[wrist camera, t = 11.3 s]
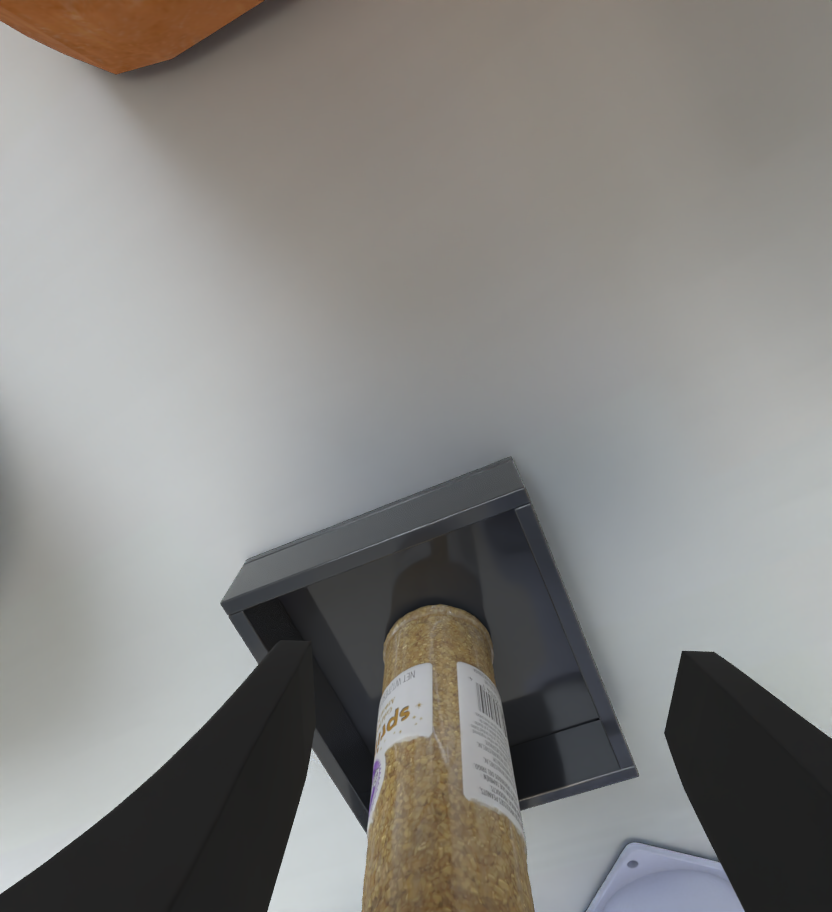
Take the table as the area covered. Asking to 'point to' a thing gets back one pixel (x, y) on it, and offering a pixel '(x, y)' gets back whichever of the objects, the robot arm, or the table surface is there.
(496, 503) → the dark gray square tray
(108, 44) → the bread
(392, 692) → the sprinkles bottle
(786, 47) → the table surface
